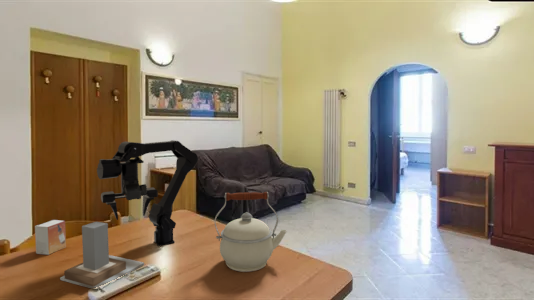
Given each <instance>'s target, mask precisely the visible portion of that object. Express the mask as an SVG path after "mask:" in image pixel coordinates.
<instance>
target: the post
mask: <svg viewBox="0 0 534 300" xmlns="http://www.w3.org/2000/svg"><path fill="white" fill-rule="evenodd" d="M81 238H82V239H81V240H82V260H83V261H82V263H83V267H84V268H88V269H92V270H97V269H99V268H101V267H103V266H105V265H107V264H109V255H110V254H109V253H110V252H109V223H107V222H102V221H94V222H90V223H88V224H83V225H82V226H81Z"/></svg>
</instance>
